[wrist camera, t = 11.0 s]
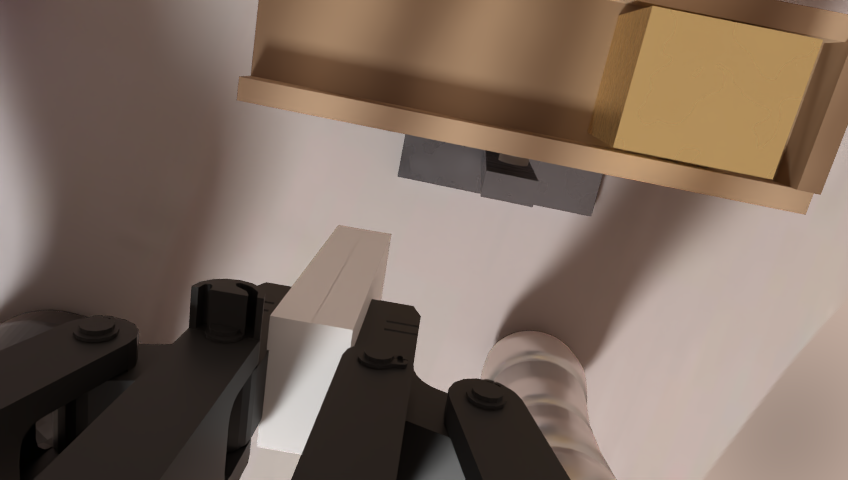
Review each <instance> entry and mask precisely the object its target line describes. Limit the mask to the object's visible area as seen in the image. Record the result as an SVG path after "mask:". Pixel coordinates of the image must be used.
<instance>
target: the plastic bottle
mask: <svg viewBox="0 0 848 480" xmlns="http://www.w3.org/2000/svg"><path fill="white" fill-rule="evenodd" d="M481 379H483V380H484V379H489V380H492V381H494V382H498V383H501V384H503V385H504V386H506V387H507V388H509V389H511V390H512V391H514V392H515V393H516V394H517V395H518V396H519V397H520V398H521V399H522V400H523V402H524V404H525V405H526V407H527V408H528V410H529V412H530V413H531V415H532V417H533V418H534V420H535V422H536V423H537V425H538V427H539V428H540V430H541V432H542V433H543V435H544V437H545V438H546V440H547V442H548V443H549V445H550V446H551V448H552V450H553V451H554V453H555V455H556V456H557V458H558V460H559V461H560V463H561V465H562V466H563V468H564V470H565V471H566V473H567V475H568V476H569V478H570V479H571V480H617V479H616V478H615V476H614V475H613V473H612V471H611V469H610V468H609V466H608V464H607V462H606V461H605V459H604V457H603V455H602V454H601V452H600V449H599V447H598V444H597V442H596V439H595V437H594V435H593V432H592V429H591V427H590V423H589V417H588V410H587V384H586V377H585V373H584V369H583V368H582V366H581V364H580V362H579V360H578V359H577V358H576V356H575V355H574V354H573V352H572V351H571V350H570V349H569V347H568V346H567V345H566V344H564V343H563V342H562V341H561V340H559V339H557V338H556V337H554V336H552V335H549V334H546V333H543V332H537V331H522V332H517V333H513V334H511V335H508V336H506V337H504V338H503V339H501V340H500V341H498V342H497V343H496V344H495V345H494V346H493V347H492V349H491V350H490V352H489V353H488V355H487V358H486V361H485V364H484V366H483V369H482V374H481Z"/></svg>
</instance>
